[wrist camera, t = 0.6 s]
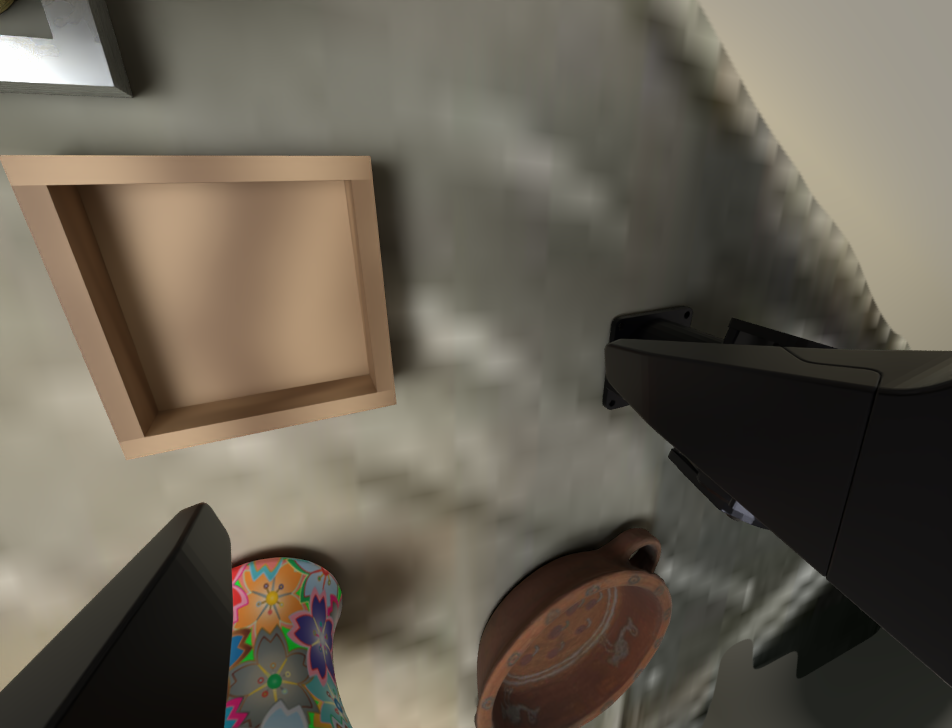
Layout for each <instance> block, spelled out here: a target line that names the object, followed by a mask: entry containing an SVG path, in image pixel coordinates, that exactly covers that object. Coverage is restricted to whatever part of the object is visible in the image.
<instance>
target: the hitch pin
mask: <svg viewBox="0 0 952 728" xmlns="http://www.w3.org/2000/svg"><path fill="white" fill-rule="evenodd" d="M13 2H14V0H0V14H1V13H2V12H3V11H5V10H6V9H7V8H8V7H9V6H10V5H11V4H12V3H13Z"/></svg>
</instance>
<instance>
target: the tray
mask: <svg viewBox="0 0 952 728" xmlns="http://www.w3.org/2000/svg"><path fill="white" fill-rule="evenodd" d="M0 160H1V162H2V165H3V167H4V170H5V172H6V174H7V177H8V179H9V182H10V184H11V186H12V189H13V191H14V193H15V196H16V198H17V201H18V203H19V205H20V208H21V210H22V212H23V215H24V217H25V220H26V222H27V224H28V227H29V229H30V232H31V234H32V236H33V239H34V241H35V243H36V246H37V248H38V251H39V253H40V255H41V258H42V260H43V263H44V265H45V267H46V270H47V272H48V274H49V277H50V279H51V282H52V284H53V286H54V289H55V291H56V293H57V296H58V298H59V301H60V303H61V305H62V308H63V310H64V313H65V315H66V317H67V320H68V322H69V324H70V327H71V329H72V332H73V334H74V336H75V339H76V341H77V343H78V346H79V348H80V351H81V353H82V355H83V358H84V360H85V363H86V365H87V367H88V370H89V372H90V374H91V377H92V379H93V382H94V384H95V386H96V389H97V391H98V394H99V396H100V398H101V401H102V403H103V405H104V408H105V410H106V413H107V415H108V417H109V420H110V422H111V424H112V427H113V429H114V432H115V434H116V436H117V439H118V441H119V444H120V446H121V448H122V451H123V453H124V455H125V458H126V460H129V459H134V458H139V457H143V456H148V455H153V454H158V453H163V452H168V451H173V450H177V449H182V448H187V447H192V446H197V445H202V444H206V443H211V442H216V441H221V440H226V439H231V438H235V437H240V436H245V435H250V434H255V433H260V432H265V431H269V430H274V429H279V428H284V427H289V426H294V425H298V424H303V423H308V422H313V421H318V420H323V419H327V418H332V417H337V416H342V415H347V414H352V413H357V412H361V411H366V410H371V409H376V408H381V407H386V406H390V405H395V404H396V395H395V386H394V376H393V367H392V357H391V348H390V338H389V329H388V319H387V310H386V300H385V291H384V281H383V272H382V262H381V253H380V243H379V234H378V224H377V215H376V205H375V196H374V186H373V177H372V167H371V158H370V156H116V155H0Z"/></svg>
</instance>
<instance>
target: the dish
mask: <svg viewBox="0 0 952 728" xmlns="http://www.w3.org/2000/svg"><path fill="white" fill-rule="evenodd" d="M638 549H639V550H638ZM636 550H638V551H637V553H636V554H635V555H634V556H633V557H632V558H631V559H630V560H629V558H630V556H631V555H632V554H633V553H634V552H635V551H636ZM660 554H661V544H660V542H659V540H658V539H657V538H656V537H654V536H653V535H651V534H650V533H649V532H648V531H647V530H646V529H643V528H631V529H629V530H626V531H624V532H622V533H621V534H619V535H618V536H617V537H615V538H614V539H613V540H611V541H610V542H609V543H607V544H606V545H604V546H603V547H601V548H599V549H597V550H593V551H585V552H580V553H574V554H570V555H567V556H563V557H560V558H558V559H556V560H554V561H552V562H550V563H548V564H546V565H544V566H543V567H541V568H539V569H538V570H536V571H535V572H534V573H532V574H531V575H529V576H528V577H527V578H526V579H524V580H523V581H522V582H521V583H520V584H519V585H517V586H516V587H515V588H514V589H513V590H512V591H511V592H510V593H509V594H508V595H507V596H506V597H505V599H504V600H503V601H502V602H501V603H500V604H499V606H498V607H497V609H496V610H495V612H494V613H493V615H492V616H491V618H490V620H489V621H488V623H487V625H486V627H485V630H484V632H483V634H482V637H481V641H480V644H479V651H478V659H477V685H478V697H479V701H478V706H477V712H476V714H475V721H474V722H475V726H476V728H580V727H581V726H583V725H584V724H586V723H588V722H589V721H591V720H593V719H594V718H595V717H597V716H598V715H599V714H601V713H602V712H603V711H605V710H606V709H607V708H609V707H610V706H611V705H612V704H613V703H614V702H615V701H616V700H617V699H618V698H619V697H620V696H621V695H622V694H623V693H624V692H625V691H626V690H627V689H628V688H629V687H630V686H631V684H632V683H633V682H634V681H635V680H636V679H637V677H638V676H639V675H640V674H641V672H642V671H643V670H644V668H645V667H646V665H647V664H648V663H649V661H650V660H651V658H652V657H653V655H654V653H655V652H656V650H657V649H658V647H659V645H660V643H661V642H662V640H663V637H664V635H665V632H666V630H667V627H668V625H669V622H670V619H671V612H672V600H671V595H670V592H669V590H668V588H667V586H666V584H665V582H664V580H663V579H662V578H660V576H658V575H657V574H655V573H654V571H655V568H656V566H657V563H658V561H659V558H660Z"/></svg>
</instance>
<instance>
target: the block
mask: <svg viewBox="0 0 952 728" xmlns="http://www.w3.org/2000/svg"><path fill="white" fill-rule="evenodd" d="M41 3H42V6H43V9H44V12H45V15H46V18H47V21H48V24H49V26H50V29H51V32H52V35H53V38H54V39H45V38H32V37H19V36H7V35H0V92H11V93H34V94H58V95H82V96H106V97H130V98H133V95H132V91H131V88H130V84H129V81H128V78H127V74H126V71H125V67H124V64H123V60H122V57H121V54H120V50H119V47H118V43H117V40H116V36H115V33H114V30H113V26H112V23H111V19H110V16H109V12H108V9H107V6H106V2H105V0H41Z"/></svg>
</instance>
